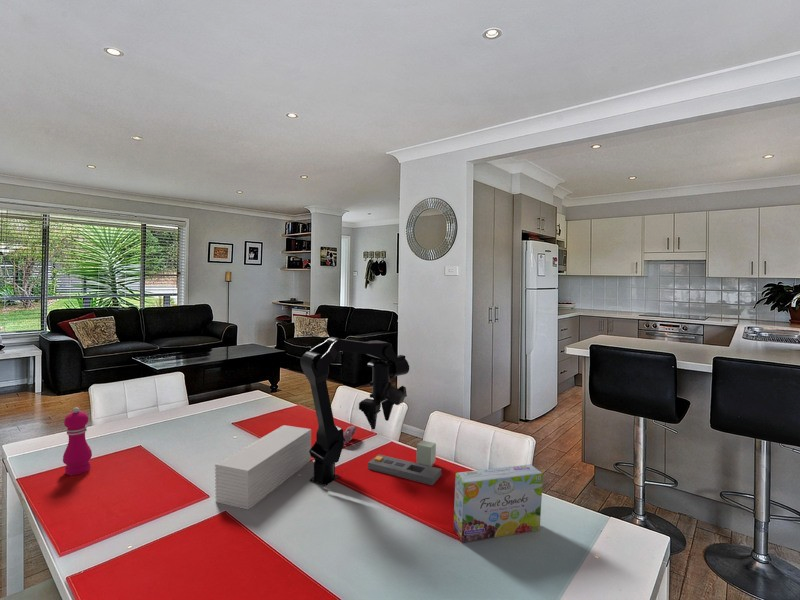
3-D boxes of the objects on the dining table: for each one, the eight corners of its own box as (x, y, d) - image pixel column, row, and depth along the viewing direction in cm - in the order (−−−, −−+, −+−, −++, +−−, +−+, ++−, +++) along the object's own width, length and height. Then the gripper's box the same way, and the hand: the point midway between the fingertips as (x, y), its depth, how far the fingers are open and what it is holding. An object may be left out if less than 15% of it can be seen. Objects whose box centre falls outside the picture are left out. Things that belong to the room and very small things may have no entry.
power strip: (432, 488, 125) (432, 476, 125) (367, 471, 135) (367, 460, 135) (440, 478, 132) (441, 467, 131) (378, 463, 141) (378, 452, 141)
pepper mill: (58, 472, 131) (56, 408, 130) (84, 463, 138) (82, 402, 136) (70, 478, 128) (68, 412, 127) (97, 468, 134) (95, 406, 133)
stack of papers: (283, 455, 146) (283, 424, 146) (311, 460, 143) (311, 429, 142) (215, 502, 116) (215, 464, 116) (248, 510, 113) (248, 470, 112)
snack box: (462, 545, 100) (464, 482, 99) (452, 531, 105) (454, 471, 104) (541, 531, 106) (543, 471, 105) (528, 518, 111) (530, 462, 110)
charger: (430, 472, 136) (431, 447, 135) (416, 468, 138) (416, 444, 137) (435, 467, 139) (435, 443, 139) (421, 463, 142) (421, 440, 141)
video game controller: (344, 451, 154) (353, 435, 153) (333, 445, 154) (342, 428, 153) (352, 441, 163) (360, 425, 162) (342, 435, 164) (350, 419, 163)
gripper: (389, 388, 130) (388, 438, 131) (414, 375, 147) (413, 420, 148) (358, 383, 135) (357, 432, 136) (386, 372, 152) (385, 415, 153)
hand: (380, 424), depth 143 cm, fingers open, 9 cm apart
